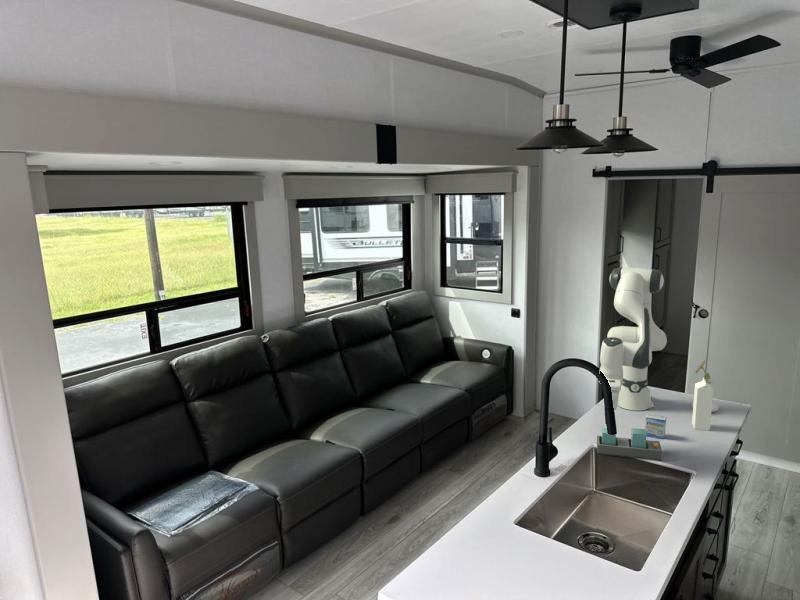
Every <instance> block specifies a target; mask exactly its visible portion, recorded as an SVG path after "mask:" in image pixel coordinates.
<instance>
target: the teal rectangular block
mask: <svg viewBox="0 0 800 600" xmlns="http://www.w3.org/2000/svg"><path fill="white" fill-rule="evenodd" d="M607 428H608V427H602V429H601V436H602V444H603V445H613V446H615V444H616V437H617V434H616V435H609V434H608V433H607Z"/></svg>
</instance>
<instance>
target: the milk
mask: <svg viewBox="0 0 800 600" xmlns="http://www.w3.org/2000/svg"><path fill="white" fill-rule="evenodd" d="M704 378H705V377H702V380H703V381H700V380H699V381H698V382H695V383H694V391H693V393H694V394H693V401H694V403H693V406H692V419H691V425H692V426H693V428H694V430H701V431H710V430H711V418H712V412H711V408H712V400H713V396H714V395H713V394H714V389H713V387H712V385H710V384H708V383H706V381H705V380H706V379H704Z"/></svg>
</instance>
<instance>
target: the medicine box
mask: <svg viewBox="0 0 800 600" xmlns="http://www.w3.org/2000/svg"><path fill="white" fill-rule="evenodd" d="M666 424H667V416H663V415H656V414H649V413H646V414H645V422H644V429H645V431H646V437H647V438H648V437H649V438H654V437H655V438H656V439H661V440H665V437H666ZM655 438H654V439H655Z"/></svg>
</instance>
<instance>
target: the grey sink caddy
mask: <svg viewBox="0 0 800 600" xmlns="http://www.w3.org/2000/svg"><path fill="white" fill-rule="evenodd" d="M630 434H631V435H630V437H629V438H627V437H617V436H616V444H615V446H613V445H603V444H602V435H596V454H597V455H602V456H603V455H604V456H612V457H613V456H614V457H623V458H632V459H640V460H641V459H642V460H652V461H660V460H661V461H662V460H663V449H662V446H661V441H660V440H659V441H658V440H652V439H651V440H649V439H648V440H647V436H646V431H645V428H635V427H634V428H633V427H632V428H631V433H630Z"/></svg>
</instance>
